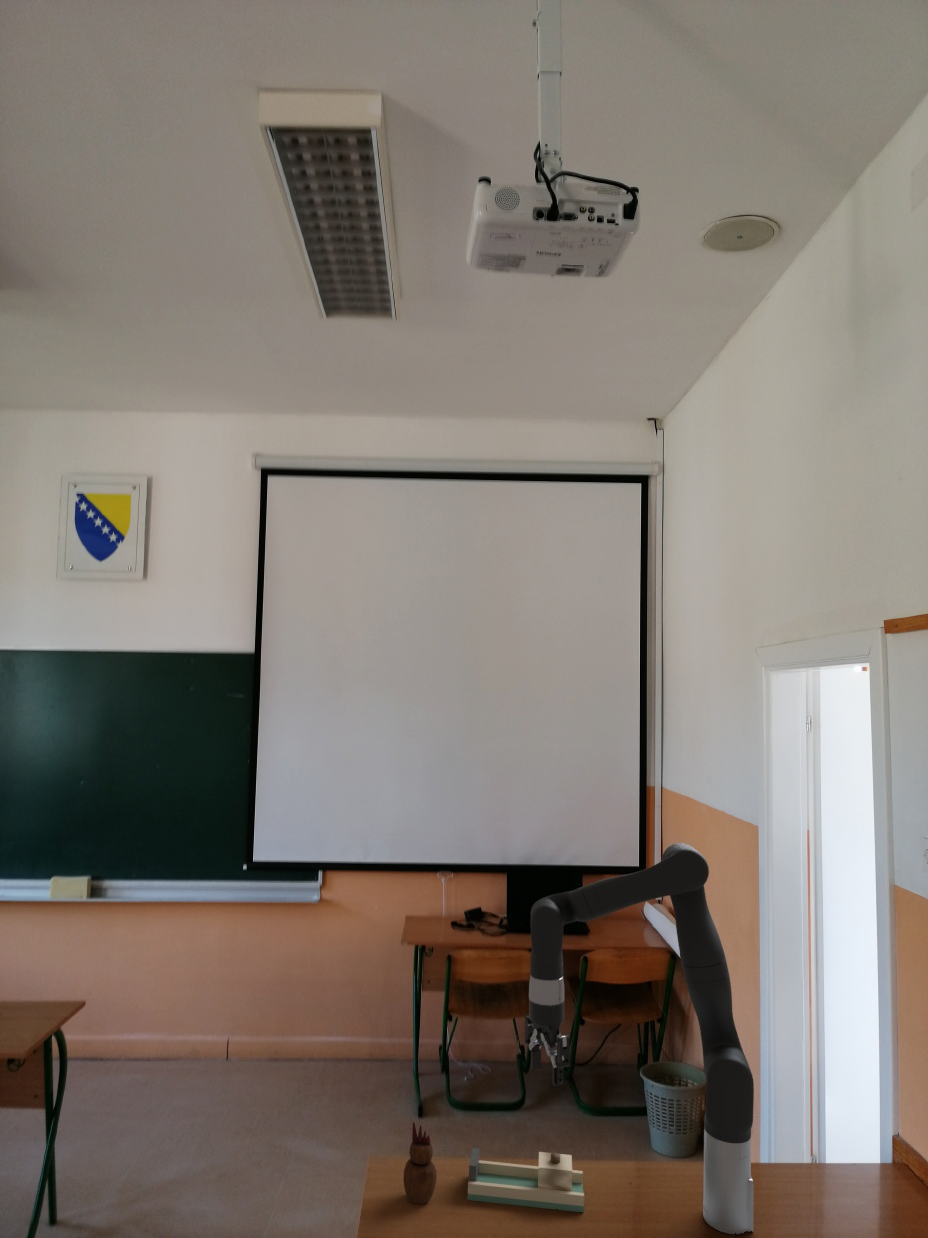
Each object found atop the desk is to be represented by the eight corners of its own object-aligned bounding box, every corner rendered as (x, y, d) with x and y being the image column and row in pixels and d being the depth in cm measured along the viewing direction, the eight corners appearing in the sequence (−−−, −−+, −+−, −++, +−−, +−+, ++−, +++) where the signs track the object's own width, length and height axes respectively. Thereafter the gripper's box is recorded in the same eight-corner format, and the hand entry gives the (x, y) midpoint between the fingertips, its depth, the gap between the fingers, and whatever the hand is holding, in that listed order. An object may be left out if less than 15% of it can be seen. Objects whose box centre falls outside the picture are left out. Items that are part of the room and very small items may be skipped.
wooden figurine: (397, 1201, 169) (401, 1125, 171) (412, 1187, 174) (415, 1113, 176) (426, 1212, 166) (429, 1134, 168) (440, 1197, 171) (443, 1122, 173)
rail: (582, 1187, 177) (582, 1156, 177) (583, 1212, 168) (584, 1180, 169) (471, 1175, 180) (472, 1145, 180) (467, 1200, 171) (468, 1168, 171)
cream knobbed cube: (570, 1182, 176) (571, 1149, 176) (571, 1199, 170) (572, 1165, 170) (538, 1179, 177) (539, 1146, 177) (537, 1195, 171) (538, 1161, 171)
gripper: (580, 1005, 171) (580, 1087, 169) (543, 984, 183) (543, 1060, 182) (549, 1011, 167) (549, 1095, 166) (514, 989, 180) (514, 1066, 178)
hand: (546, 1076), depth 174 cm, fingers open, 8 cm apart
